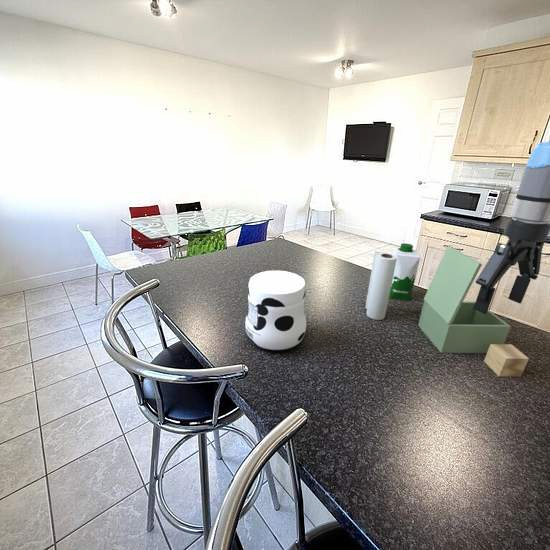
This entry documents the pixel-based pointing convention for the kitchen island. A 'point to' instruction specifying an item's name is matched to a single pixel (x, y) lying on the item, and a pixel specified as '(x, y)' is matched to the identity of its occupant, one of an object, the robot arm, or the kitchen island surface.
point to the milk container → (276, 310)
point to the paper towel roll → (380, 284)
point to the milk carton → (404, 272)
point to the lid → (451, 283)
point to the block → (506, 360)
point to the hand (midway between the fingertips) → (497, 305)
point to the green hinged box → (463, 329)
